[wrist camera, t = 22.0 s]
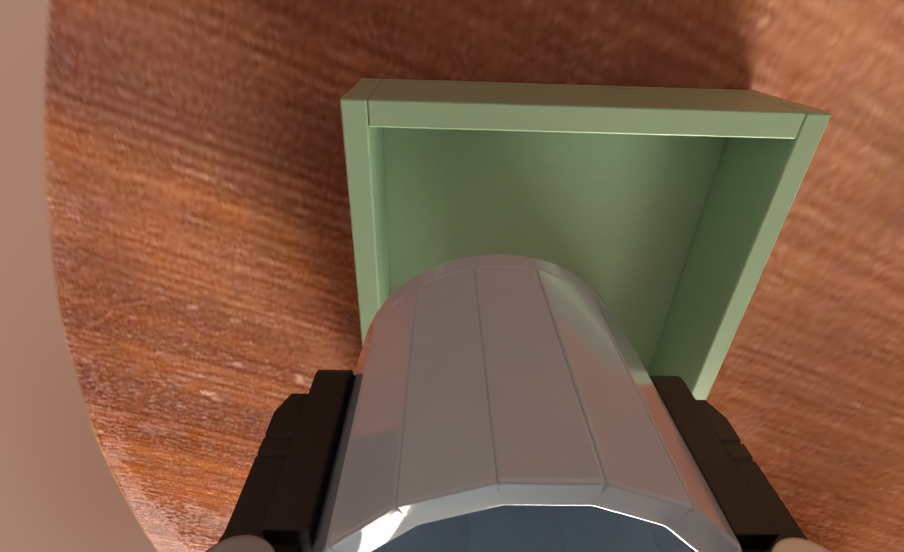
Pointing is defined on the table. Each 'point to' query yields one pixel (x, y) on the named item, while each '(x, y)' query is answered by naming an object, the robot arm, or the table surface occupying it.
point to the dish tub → (582, 196)
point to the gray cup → (509, 426)
